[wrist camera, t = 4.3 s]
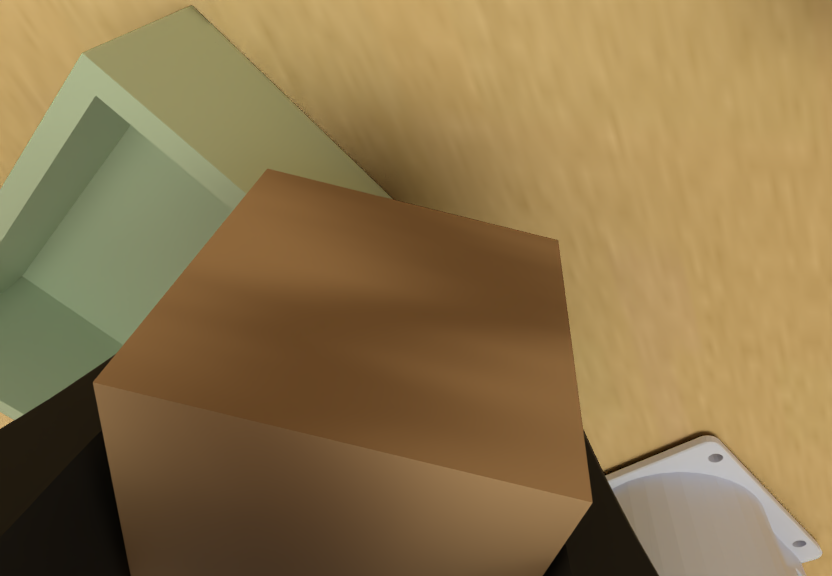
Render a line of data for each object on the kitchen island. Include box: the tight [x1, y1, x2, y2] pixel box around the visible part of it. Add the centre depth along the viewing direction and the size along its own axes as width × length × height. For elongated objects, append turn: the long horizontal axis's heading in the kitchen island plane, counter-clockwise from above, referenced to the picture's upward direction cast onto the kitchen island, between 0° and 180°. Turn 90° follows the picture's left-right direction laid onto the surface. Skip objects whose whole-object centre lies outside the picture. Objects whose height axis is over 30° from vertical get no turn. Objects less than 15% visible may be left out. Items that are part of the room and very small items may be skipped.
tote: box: [0, 5, 392, 420], centre depth 20 cm, size 17×13×5 cm
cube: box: [93, 169, 593, 576], centre depth 9 cm, size 5×5×5 cm
